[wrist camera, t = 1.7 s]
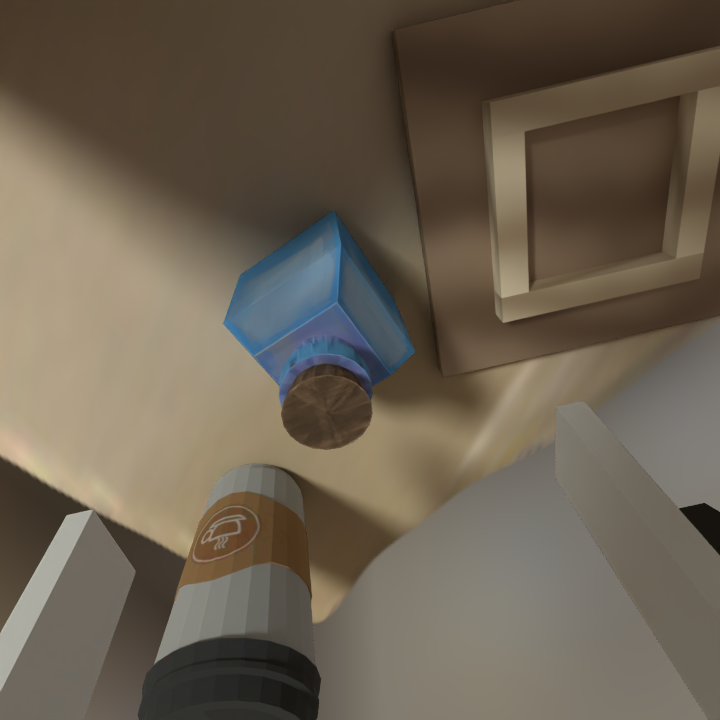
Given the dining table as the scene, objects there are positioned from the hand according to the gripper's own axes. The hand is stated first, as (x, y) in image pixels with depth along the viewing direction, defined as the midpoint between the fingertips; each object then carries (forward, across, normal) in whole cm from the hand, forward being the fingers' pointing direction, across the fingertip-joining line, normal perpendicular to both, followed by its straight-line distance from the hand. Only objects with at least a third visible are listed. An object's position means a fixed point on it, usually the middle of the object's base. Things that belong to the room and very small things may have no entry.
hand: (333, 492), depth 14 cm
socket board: (+16, +15, +2) cm, 22 cm away
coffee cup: (+16, -8, -14) cm, 22 cm away
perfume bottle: (+16, 0, 0) cm, 16 cm away
